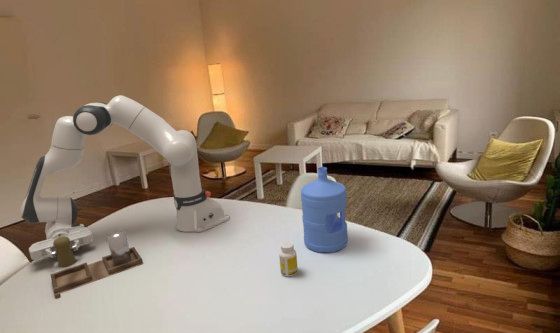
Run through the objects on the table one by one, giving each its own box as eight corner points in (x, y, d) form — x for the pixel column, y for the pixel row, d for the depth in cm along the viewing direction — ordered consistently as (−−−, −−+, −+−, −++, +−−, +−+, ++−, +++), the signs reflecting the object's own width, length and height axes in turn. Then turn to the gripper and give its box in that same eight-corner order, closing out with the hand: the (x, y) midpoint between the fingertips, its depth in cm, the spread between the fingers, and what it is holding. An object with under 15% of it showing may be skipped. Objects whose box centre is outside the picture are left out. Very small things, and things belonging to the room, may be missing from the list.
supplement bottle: (299, 268, 124) (297, 241, 122) (295, 278, 120) (292, 250, 117) (283, 266, 126) (281, 239, 123) (278, 276, 121) (275, 248, 118)
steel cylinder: (129, 255, 139) (123, 227, 136) (133, 262, 134) (127, 233, 131) (111, 261, 136) (105, 233, 133) (115, 268, 131) (108, 239, 128)
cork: (69, 271, 134) (61, 242, 131) (54, 270, 136) (46, 242, 132) (81, 261, 140) (74, 234, 137) (66, 261, 141) (59, 234, 138)
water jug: (298, 250, 135) (292, 174, 127) (311, 230, 149) (307, 160, 141) (342, 256, 129) (339, 177, 121) (352, 234, 143) (350, 162, 135)
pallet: (134, 252, 144) (133, 245, 143) (144, 266, 133) (142, 260, 132) (52, 280, 130) (50, 273, 129) (55, 298, 119) (53, 291, 119)
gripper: (26, 239, 140) (27, 254, 129) (87, 222, 151) (93, 234, 140) (30, 254, 142) (32, 270, 131) (91, 236, 153) (97, 250, 141)
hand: (64, 252), depth 135 cm, fingers open, 5 cm apart
